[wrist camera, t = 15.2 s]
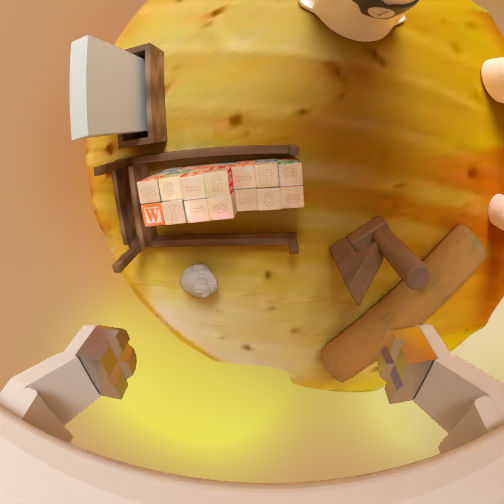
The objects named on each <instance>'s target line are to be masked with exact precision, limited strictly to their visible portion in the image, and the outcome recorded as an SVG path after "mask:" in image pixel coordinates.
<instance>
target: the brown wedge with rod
mask: <svg viewBox="0 0 504 504" xmlns="http://www.w3.org/2000/svg"><path fill="white" fill-rule="evenodd" d="M329 249H330V251H331V253H332V255H333V258H334V260H335V262H336V264H337V266H338V268H339V270H340V273H341V275H342V277H343V279H344V282H345V284H346V286H347V288H348V290H349V292H350V293H351V295H352V297H353V298H354V300H355V302H356V303H357V305H360V303H361V301H362V299H363V297H364V296H365V294H366V292H367V290H368V288H369V286H370V285H371V283H372V281H373V279H374V277H375V275H376V273H377V271H378V269H379V267H380V265H381V263H382V261H383V259H384V258H383V256H384V257H385V258H386V259H387V261H388V262H389V263H390V264H391V266H392V267H393V268H394V270H395V271H396V272H397V273H398V275H399V276H400V277H401V279H402V280H403V281H404V283H405V284H406V285H407V287H408V288H410V289H413V290H417V289H420V288H422V287H423V286H424V285H425V284H426V283H427V281H428V279H429V269H428V268H427V266H426V265H425V264H424V263H423V262H422V261H421V260H420V259H419V258H418V257H417V256H416V255H415V254H414V253H413V252H412V251H411V250H410V249H409V248H408V247H407V246H406V245H405V244H404V243H403V242H402V241H401V240H400V239H399V238H398V237H397V236H396V235H395V234H394V233H392V232H391V231H390V229H389V227H388V225H387V223H386V221H384V220H383V219H382V218H381V217H380V216H377V217H375V218H374V219H372V220H371V221H369V222H368V223H366V224H365V225H363V226H362V227H360V228H358V229H357V230H355V231H354V232H352V233H351V234H349V235H348V236H346V238H343V239H341V240H340V241H338V242H336V243H335V244H333V245H332V246H330V247H329ZM356 252H358V253H356ZM381 253H382V254H383V256H382V254H381Z"/></svg>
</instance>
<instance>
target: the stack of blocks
mask: <svg viewBox="0 0 504 504" xmlns="http://www.w3.org/2000/svg"><path fill="white" fill-rule="evenodd" d="M137 186H138V192H139V198H140V204H142V205H141V209H142V214H143V219H144V223H145V226H146V227H147V226H157V225H165V224H166V225H172V224H181V223H186V222H188V223H194V222H204V221H210V220H221V219H231V218H234V217H235V215H236V212H240V211H254V210H259V211H265V210H281V209H282V208H303V207H304V194H303V178H302V163H301V162H300V161H299V160H298V159H296V158H281V159H276V158H271V159H258V160H257V159H255V160H242V161H235V162H224V163H215V164H205V165H193V166H185V167H175V168H168V169H166V170H163V171H161V172H159V173H157V174H155V175H152V176H149V177H147V178H146V179H143V180H141V181H139V182H137Z"/></svg>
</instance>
